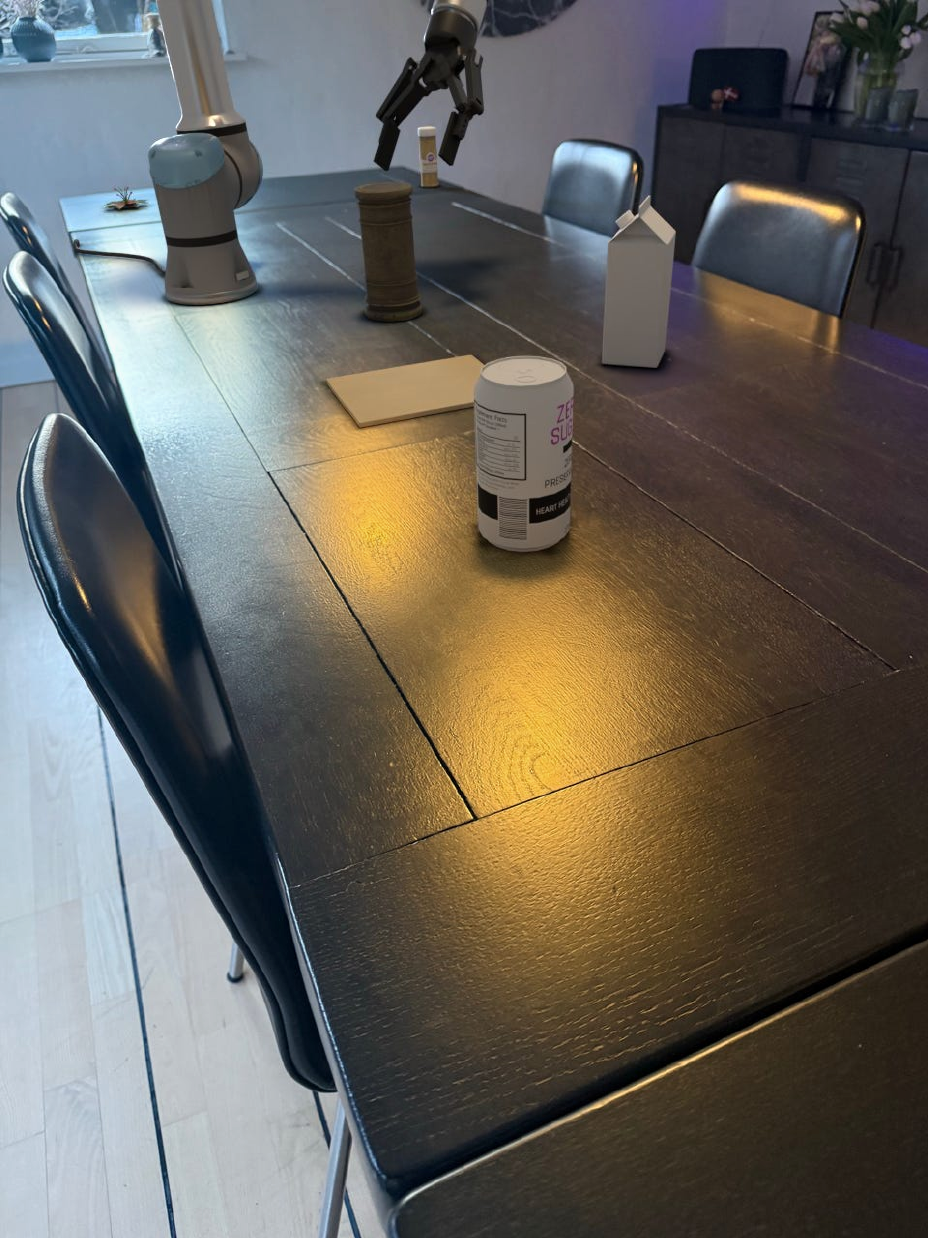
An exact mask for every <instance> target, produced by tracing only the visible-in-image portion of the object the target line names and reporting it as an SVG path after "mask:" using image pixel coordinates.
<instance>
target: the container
mask: <svg viewBox="0 0 928 1238" xmlns="http://www.w3.org/2000/svg"><path fill="white" fill-rule="evenodd" d="M413 189H414V188H413V186H412V185H411V184H410V183H407V182H401V181H399V182H398V181H397V182H396V181H387V182H386V181H384V182H373V183H367V184H366V183H365V184H362V185H358V186H356V187H355V188H354V190H353V195H354V198H355V199H357V201H356V205H357V207H358V215H359V217H358V223H359V229H360V239H361V250H362V257H363V258H362V259H363V268H364V277H363V278H364V280H363V281H364V284H365V292H366V295H365V297H364V300H363V301H364V303H366V305H365V307H364V313H365V316H366V317H367V318H368V319H370V320H372V321H377V322H385V323H386V322H388V323H389V322H391V323H392V322H393V323H394V322H403V321H409V320H412V319H415V318H417V317H420V315H422V313H423V309H424V307H423V303H422V302H421V298H422V295H421V294H420V292H419V287H418V273H417V270H416V269H417V268H416V259H415V257H416V256H415V245H414V244H415V243H414V227H413V215H412V211H411V204H412V197H410V196H411V195H412V194H413V191H414V190H413Z"/></svg>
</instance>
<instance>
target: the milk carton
mask: <svg viewBox="0 0 928 1238" xmlns="http://www.w3.org/2000/svg"><path fill="white" fill-rule="evenodd" d="M615 224H616V225H617V227H618V228H619V230H618V231H617V232H615V234H614V235H613V236H612V237H611V238H610V240H609V241H608V242H607V253H606V254H607V255H606V273H605V274H606V275H605V295H604V314H603V315H604V316H603V333H602V334H603V335H602V352H601V353H602V355H601V357H602V358H601V364H603V365H612V366H613V365H615V366H624V367H625V366H626V367H640V368H653V369H655V368H658V367H659V364H660V362H661V360H662V359H663V356H664V354H665V352H666V346H667V334H668V321H669V311H670V301H671V289H672V278H673V267H674V257H675V244H676V233H677V232H676V230H675V229H674V228H673V227H672V226H671V225H670V224H669V223H668V222H667V221H666V220H665V219H664V217H662V216H661V215H660V214H659V213H658V212H657V210H656V209H655V208H653V207H652V205H651V195H647V197H646V198H645V199H644V200H643V202H641V204H640V205H639V206H638V213H637V214H636V215H634V214H633V212H632V210H631V209H628V210H626V212H624V213H623V214H622V215H621V216H620V217H619V218H617V219H616V220H615Z"/></svg>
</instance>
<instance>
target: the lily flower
mask: <svg viewBox="0 0 928 1238" xmlns="http://www.w3.org/2000/svg"><path fill="white" fill-rule="evenodd" d="M117 188H118V189H119V190H120V191H119V190H118V189H117ZM117 188H115V187H113V190H114V191H116V192H118V193H119V194H118V193H116V197H119V198H121V199H122V200H117V201H110V202H108V203H107V204H104V205H103V206H104V207H103V208H102V210H103V209H114V208H117V209H118V210H120V209H122V208H133V207H134V208H139V206H140V204H148V202H147V201H148V199H136V198H133V199H130V197H131V195H132V194H133V191H131V190H130V192H129V194H128V189H129V186H126V188H124V189H123V190H124V191H122V189H121V188H120V186H118V187H117Z"/></svg>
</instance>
